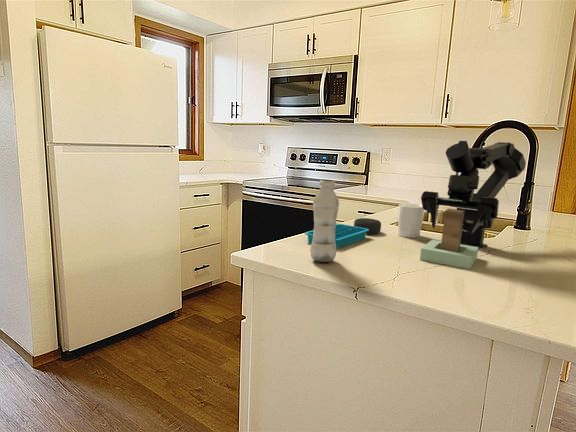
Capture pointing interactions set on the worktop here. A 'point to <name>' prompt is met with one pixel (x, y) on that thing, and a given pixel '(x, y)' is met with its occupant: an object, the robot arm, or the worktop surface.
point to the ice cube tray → (344, 234)
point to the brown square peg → (452, 230)
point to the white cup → (410, 220)
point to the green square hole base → (449, 255)
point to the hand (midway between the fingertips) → (451, 229)
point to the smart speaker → (368, 225)
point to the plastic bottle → (324, 222)
